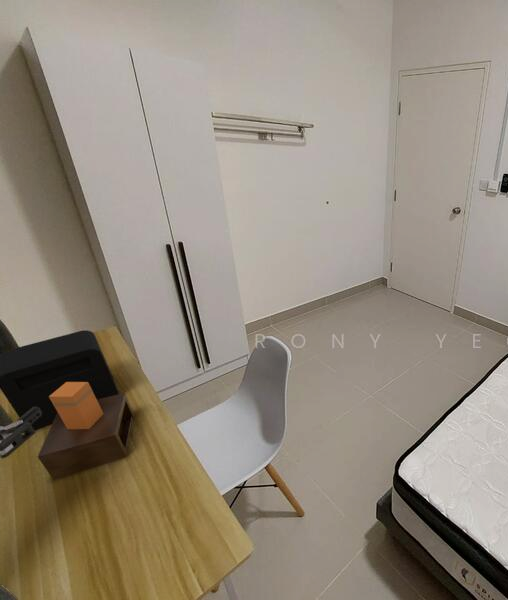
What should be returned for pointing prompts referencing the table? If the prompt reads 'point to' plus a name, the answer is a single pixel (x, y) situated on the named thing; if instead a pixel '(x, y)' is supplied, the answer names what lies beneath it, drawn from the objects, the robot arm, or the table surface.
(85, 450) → the open-ended wooden box
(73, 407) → the package
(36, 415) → the robot arm
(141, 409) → the table surface
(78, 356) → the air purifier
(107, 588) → the table surface
